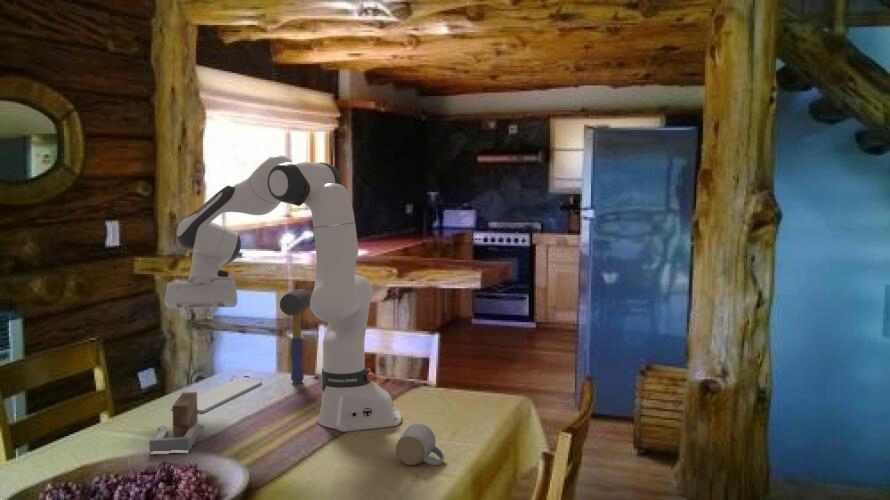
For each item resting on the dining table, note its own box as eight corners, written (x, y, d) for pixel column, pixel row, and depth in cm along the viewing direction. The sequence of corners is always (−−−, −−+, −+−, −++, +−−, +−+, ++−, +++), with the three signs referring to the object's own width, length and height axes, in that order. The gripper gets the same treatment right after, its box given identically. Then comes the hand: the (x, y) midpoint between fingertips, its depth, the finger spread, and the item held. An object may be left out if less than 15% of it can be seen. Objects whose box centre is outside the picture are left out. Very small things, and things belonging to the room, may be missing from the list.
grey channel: (204, 433, 185) (204, 420, 185) (193, 453, 172) (193, 438, 172) (158, 435, 184) (158, 422, 184) (144, 455, 170) (143, 441, 170)
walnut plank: (197, 421, 196) (196, 392, 195) (188, 436, 184) (187, 405, 183) (183, 421, 195) (182, 392, 194) (173, 437, 183) (172, 406, 182)
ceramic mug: (393, 465, 165) (394, 432, 164) (405, 452, 172) (405, 421, 172) (438, 471, 162) (439, 437, 161) (448, 458, 170) (448, 426, 169)
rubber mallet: (302, 388, 227) (300, 293, 224) (279, 387, 228) (277, 292, 225) (314, 377, 239) (313, 287, 236) (292, 377, 240) (291, 287, 237)
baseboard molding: (166, 411, 205) (202, 415, 202) (166, 401, 205) (202, 405, 202) (229, 382, 235) (262, 386, 231) (229, 374, 235) (262, 377, 231)
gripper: (165, 273, 212) (158, 312, 203) (237, 272, 215) (233, 310, 206) (169, 286, 217) (162, 325, 208) (240, 285, 220) (236, 323, 211)
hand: (198, 318), depth 207 cm, fingers open, 5 cm apart
